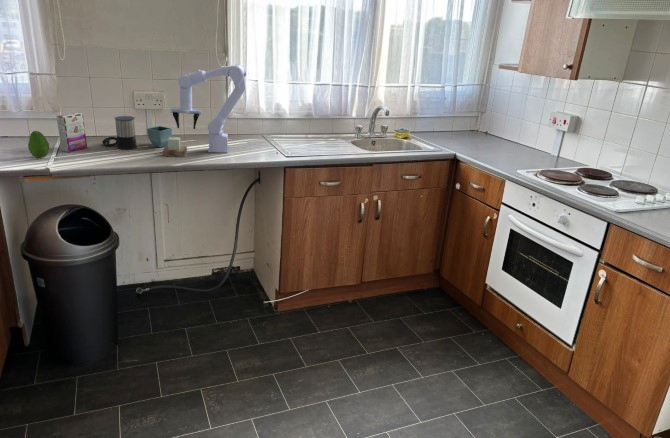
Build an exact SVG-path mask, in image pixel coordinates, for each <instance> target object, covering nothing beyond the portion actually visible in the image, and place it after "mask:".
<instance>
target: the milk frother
mask: <svg viewBox="0 0 670 438" xmlns="http://www.w3.org/2000/svg"><path fill="white" fill-rule="evenodd" d="M135 118H136V117H134V116H131V115H119V116H115V117H114V120H115V122H114V123H115V130H116V131H115V132H116V137H115V136H109V137H106V138H104V139H103V140H102V142H101V144H102V145H103V146H106V147H114V146H116V148H117V149H118V150H122V151H130V150H132V151H133V150H136V149H138V145H137V135H136V126H135ZM111 140H113V141H115V142H113V143H110V141H111Z"/></svg>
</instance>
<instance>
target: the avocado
mask: <svg viewBox="0 0 670 438" xmlns="http://www.w3.org/2000/svg"><path fill="white" fill-rule="evenodd" d="M27 146H28V151H29V152H30V153H29V154H31V155H32V156H33V157H34V158H37V159H41V158H45V157H46V156H47V155H48V154H49V152H50V144H49V142H48V139H47V138H46V136H45V135H44V134H43V132H41V131H39V130H33V131H31V133H30V135H29V140H28V144H27Z"/></svg>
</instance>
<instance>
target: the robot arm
mask: <svg viewBox="0 0 670 438" xmlns="http://www.w3.org/2000/svg"><path fill="white" fill-rule="evenodd" d="M219 76H225V77H227V78H228V77H230V79H231V80H232V82H233V85H234V89H233V90H232V91H231V93H230V95H229V96H228V98H227V99H226V101H225V102H224V104H223V106H222V107H221V109H220V110H219V112H218V113H217V114H216V116H215V118H213V119H212V121H210V122H209V123H208V125H207V130H208V149H207V153H222V154H225V153H228V151H229V140H228V139H229V135H228V133H224V132H225V131H224V130H223V129H224V127H225V123H226V121H227V119H228V117H229V116H230V114H231V113H232V111H233V110H234V108H235V106H236V105H237V103H238V101H240V99H241V98H242V96H243V94H244V93H245V91H246V89H247V72H246V69H245V67H244V66H243V65H241V64H239V63H238V64H235V65H233V64H232V65H225V66H222V67H218V68H215V69H212V70H208V71H205V70H202V69H197V70H196V71H193V72H187V73H186V74H183V75H181V76H180V77H179V78H178V80H177V81H178V85H179V107H177V108H176V107H175V108H174V107H170V109H169V110H170V112H169V113H170V114H172V116H173V118H174V121H175V123H176V127H177V129H180V114H187V115H188V114H189V115H193V126H192V127H193V130H195V129H196V125H197V122H198V120H199V117H200V116H202V115H203V114H202V111H203V110H202V109H195V108H194V109H193V89H192V88H193V86H197V85H201V84H204V83H207V81H208V80H209V79H211V78H216V77H219Z"/></svg>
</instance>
